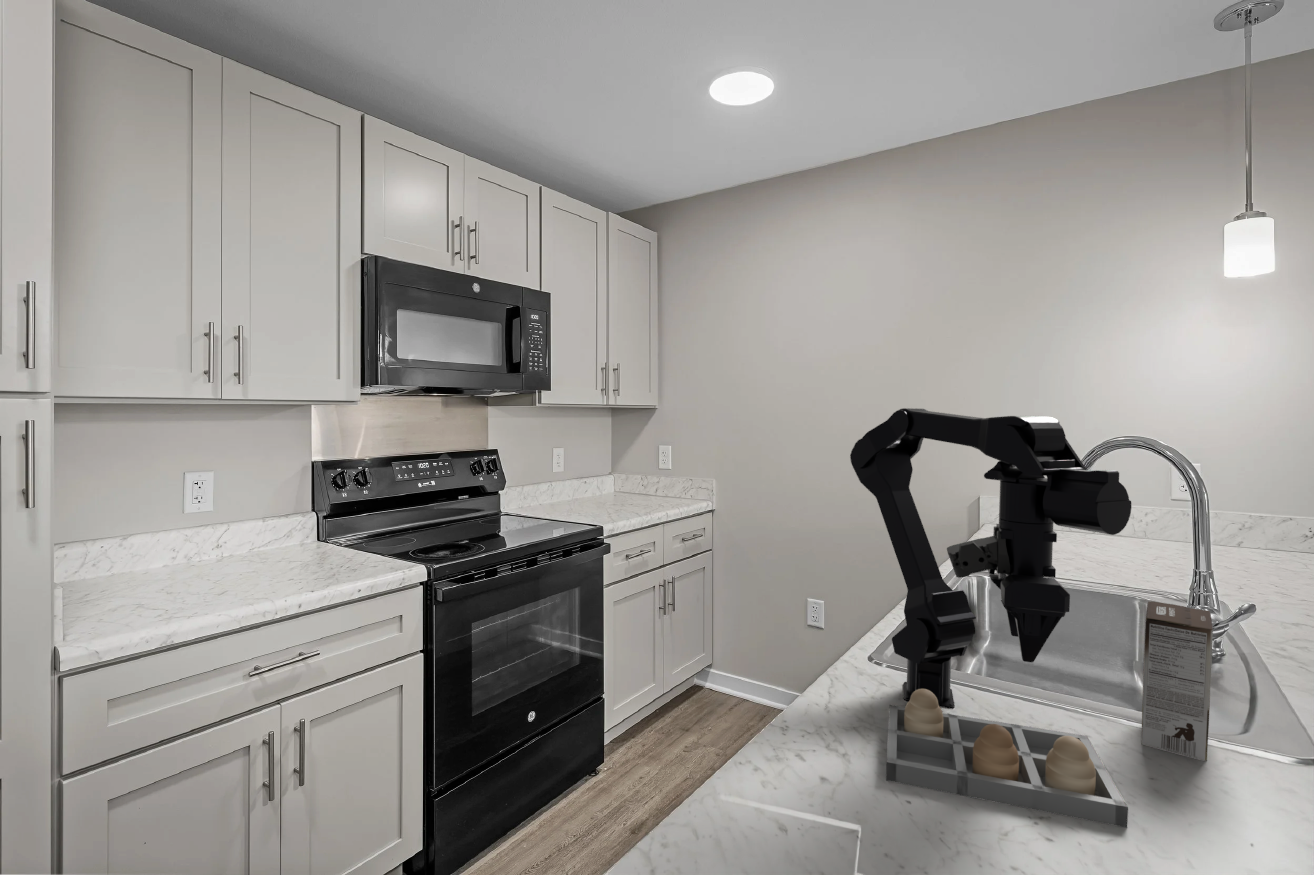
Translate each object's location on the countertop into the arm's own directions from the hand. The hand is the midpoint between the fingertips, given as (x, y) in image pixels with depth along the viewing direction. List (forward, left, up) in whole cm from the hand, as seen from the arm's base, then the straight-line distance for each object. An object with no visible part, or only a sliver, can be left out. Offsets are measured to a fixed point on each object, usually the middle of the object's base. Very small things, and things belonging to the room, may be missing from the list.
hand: (1021, 648), depth 79 cm
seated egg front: (+11, +3, -12) cm, 16 cm away
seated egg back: (+4, -11, -12) cm, 16 cm away
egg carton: (+7, -4, -12) cm, 15 cm away
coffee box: (-8, +18, -12) cm, 23 cm away
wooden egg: (+11, -4, -12) cm, 16 cm away
